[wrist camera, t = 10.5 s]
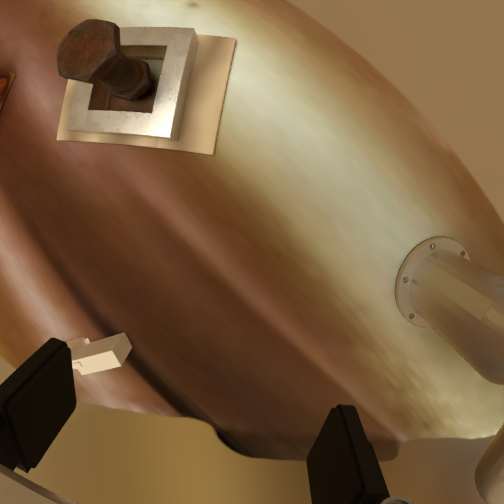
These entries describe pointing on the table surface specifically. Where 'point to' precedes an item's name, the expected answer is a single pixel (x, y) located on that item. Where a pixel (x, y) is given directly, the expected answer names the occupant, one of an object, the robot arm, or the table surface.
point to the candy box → (5, 84)
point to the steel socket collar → (167, 96)
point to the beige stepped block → (99, 353)
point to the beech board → (196, 107)
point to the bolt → (103, 60)
